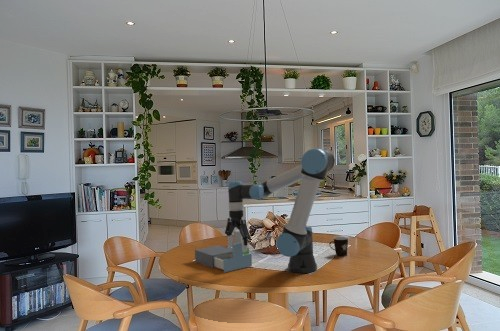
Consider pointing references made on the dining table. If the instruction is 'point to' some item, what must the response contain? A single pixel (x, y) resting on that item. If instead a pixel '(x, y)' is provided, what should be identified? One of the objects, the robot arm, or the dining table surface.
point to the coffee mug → (340, 245)
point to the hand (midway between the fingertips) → (237, 249)
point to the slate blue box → (210, 254)
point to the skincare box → (240, 240)
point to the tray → (233, 259)
